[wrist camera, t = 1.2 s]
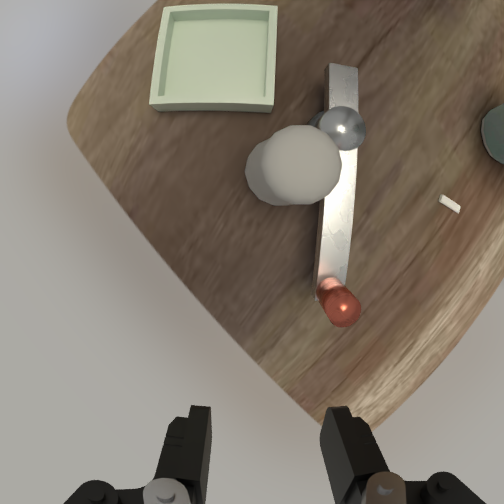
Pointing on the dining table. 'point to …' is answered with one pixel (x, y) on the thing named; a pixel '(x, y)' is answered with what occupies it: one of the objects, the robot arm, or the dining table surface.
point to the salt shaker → (294, 166)
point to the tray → (215, 58)
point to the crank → (338, 197)
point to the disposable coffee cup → (494, 133)
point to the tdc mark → (449, 203)
